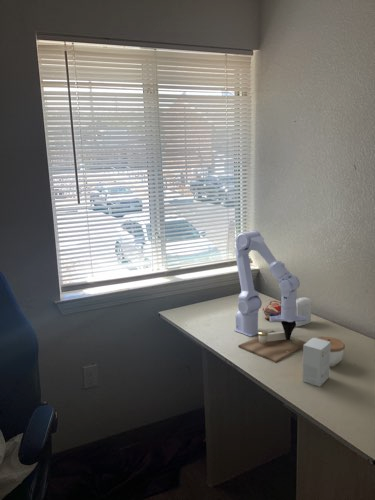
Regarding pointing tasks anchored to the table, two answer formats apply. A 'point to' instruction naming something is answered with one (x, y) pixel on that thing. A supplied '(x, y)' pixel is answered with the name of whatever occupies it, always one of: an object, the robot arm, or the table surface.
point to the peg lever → (270, 336)
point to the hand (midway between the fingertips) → (287, 338)
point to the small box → (316, 361)
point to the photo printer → (303, 310)
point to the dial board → (273, 348)
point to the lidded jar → (335, 350)
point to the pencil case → (272, 309)
